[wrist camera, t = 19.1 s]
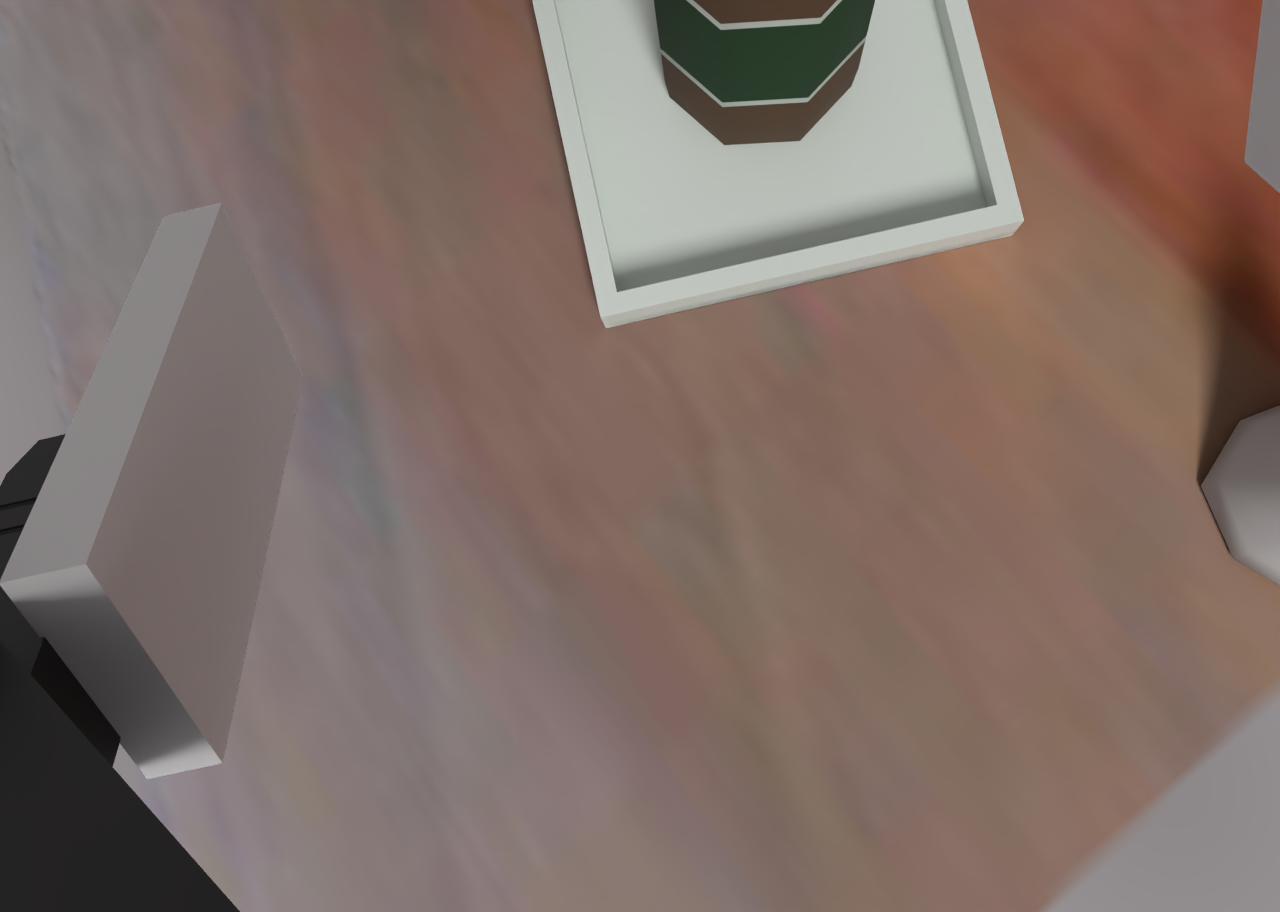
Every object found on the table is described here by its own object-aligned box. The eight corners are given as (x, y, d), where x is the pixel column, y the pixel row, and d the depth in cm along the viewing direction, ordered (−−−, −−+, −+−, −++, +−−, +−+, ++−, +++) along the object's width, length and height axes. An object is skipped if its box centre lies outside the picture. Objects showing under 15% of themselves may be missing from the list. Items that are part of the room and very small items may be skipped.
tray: (901, -192, 49) (908, -225, 47) (1011, 235, 47) (1024, 220, 45) (514, -96, 50) (505, -124, 48) (606, 328, 48) (600, 317, 46)
